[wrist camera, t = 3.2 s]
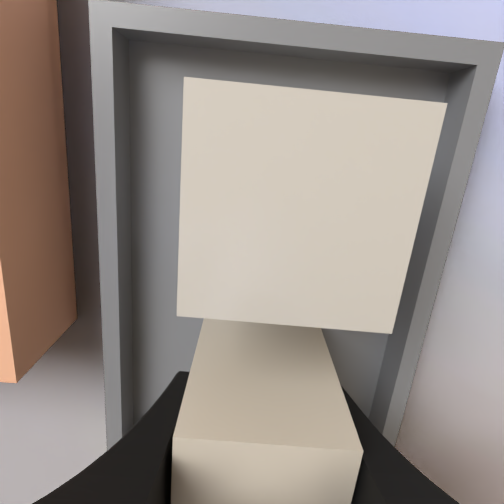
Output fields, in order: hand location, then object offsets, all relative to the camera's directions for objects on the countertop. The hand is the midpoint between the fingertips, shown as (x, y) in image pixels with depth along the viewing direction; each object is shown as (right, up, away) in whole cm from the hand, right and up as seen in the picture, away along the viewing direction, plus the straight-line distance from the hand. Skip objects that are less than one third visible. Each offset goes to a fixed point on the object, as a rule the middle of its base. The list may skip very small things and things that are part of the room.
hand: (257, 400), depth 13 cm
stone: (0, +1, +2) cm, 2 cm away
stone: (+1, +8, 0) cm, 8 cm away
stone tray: (0, +4, +1) cm, 5 cm away
